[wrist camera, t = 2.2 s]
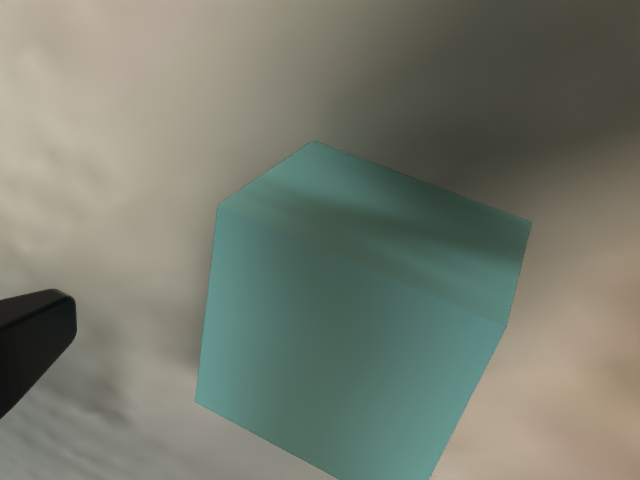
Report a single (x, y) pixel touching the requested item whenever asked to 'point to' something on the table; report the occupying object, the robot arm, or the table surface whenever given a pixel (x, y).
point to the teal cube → (354, 312)
